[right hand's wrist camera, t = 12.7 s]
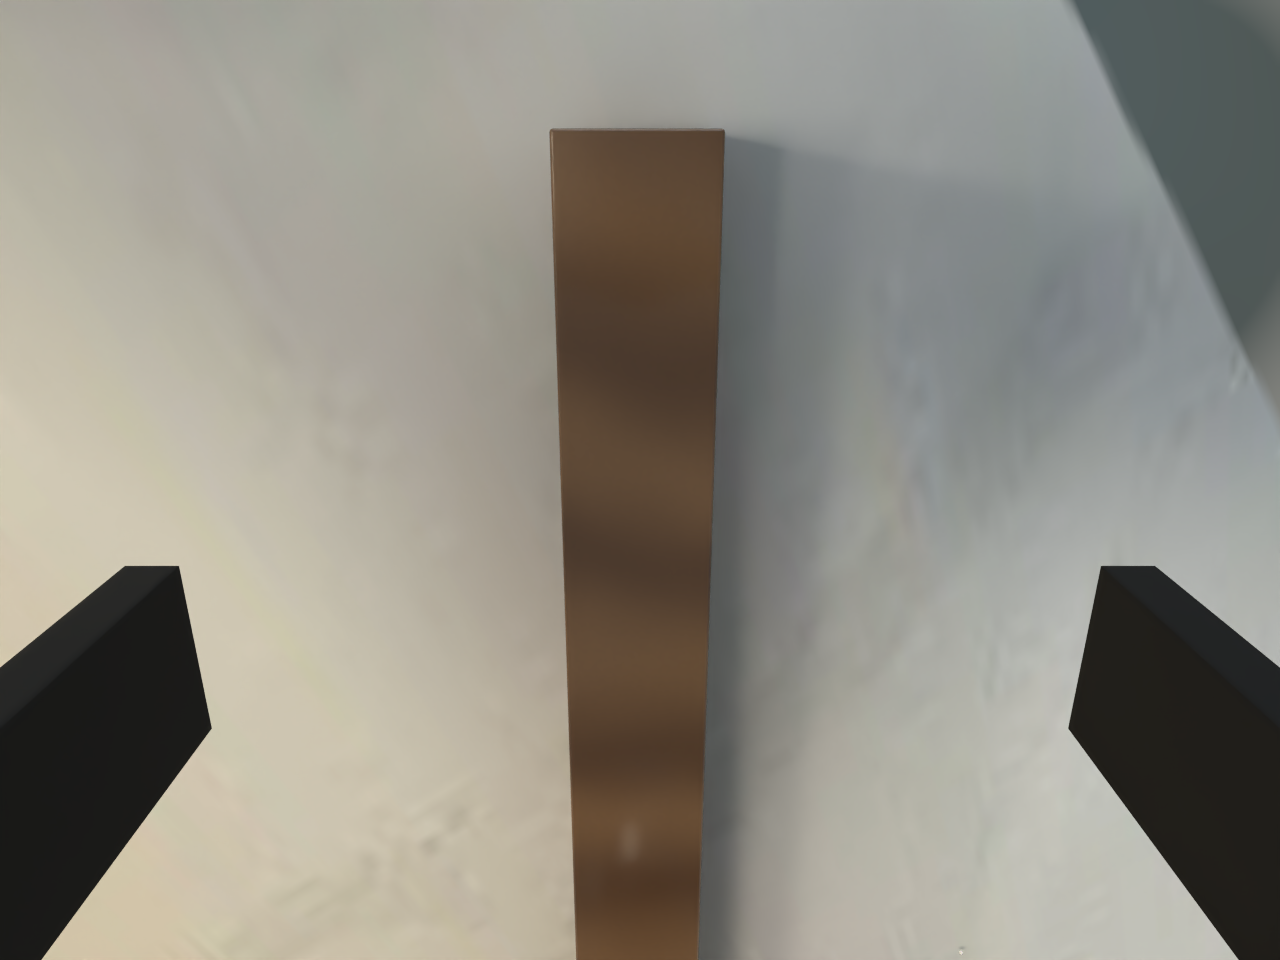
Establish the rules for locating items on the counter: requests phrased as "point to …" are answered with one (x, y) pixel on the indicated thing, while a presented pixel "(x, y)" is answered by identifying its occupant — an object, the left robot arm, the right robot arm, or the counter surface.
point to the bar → (637, 519)
